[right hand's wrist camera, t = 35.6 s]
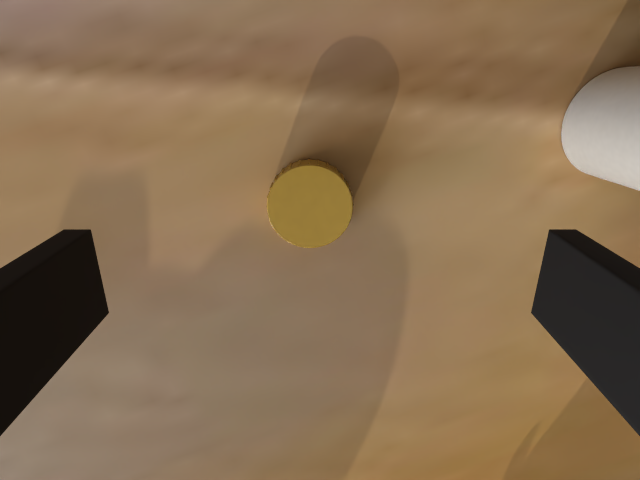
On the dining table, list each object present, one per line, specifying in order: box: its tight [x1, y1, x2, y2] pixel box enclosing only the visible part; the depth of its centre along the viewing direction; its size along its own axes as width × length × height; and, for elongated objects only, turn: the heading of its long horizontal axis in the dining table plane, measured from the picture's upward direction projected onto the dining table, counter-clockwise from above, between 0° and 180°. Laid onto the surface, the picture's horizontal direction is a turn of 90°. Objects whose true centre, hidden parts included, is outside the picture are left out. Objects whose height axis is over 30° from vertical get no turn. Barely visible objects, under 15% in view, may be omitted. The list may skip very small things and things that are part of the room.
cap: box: [267, 158, 353, 248], centre depth 22 cm, size 4×4×2 cm
